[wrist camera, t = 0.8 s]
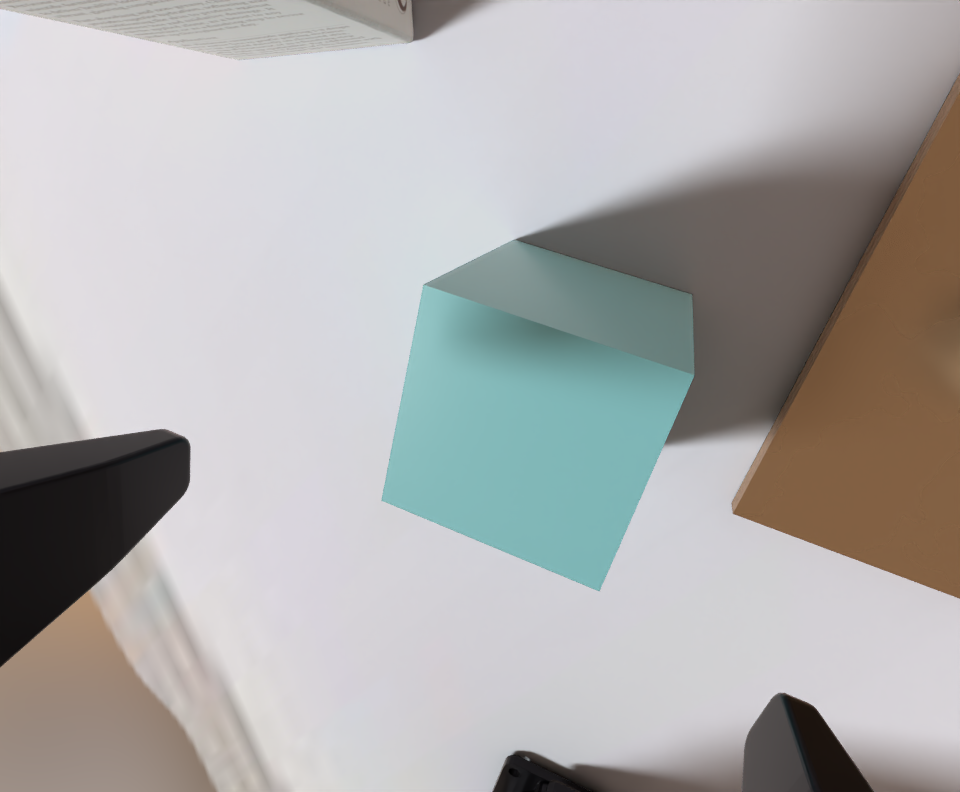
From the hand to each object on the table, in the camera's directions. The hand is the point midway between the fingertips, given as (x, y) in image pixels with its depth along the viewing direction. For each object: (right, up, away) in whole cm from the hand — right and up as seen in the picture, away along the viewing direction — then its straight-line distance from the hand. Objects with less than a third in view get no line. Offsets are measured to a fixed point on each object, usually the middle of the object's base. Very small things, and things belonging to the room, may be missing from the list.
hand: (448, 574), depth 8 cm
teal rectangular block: (+3, +4, +9) cm, 11 cm away
